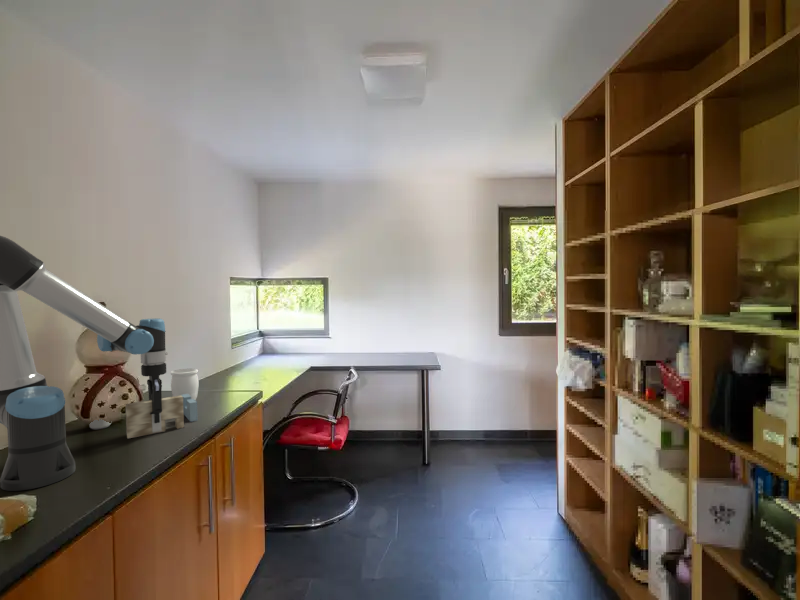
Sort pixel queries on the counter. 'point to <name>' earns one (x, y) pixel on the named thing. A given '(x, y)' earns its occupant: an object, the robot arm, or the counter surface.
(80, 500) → the counter surface
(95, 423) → the beverage can
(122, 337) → the robot arm
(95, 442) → the counter surface
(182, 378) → the jar
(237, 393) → the counter surface
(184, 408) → the blue board
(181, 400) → the birch plate
